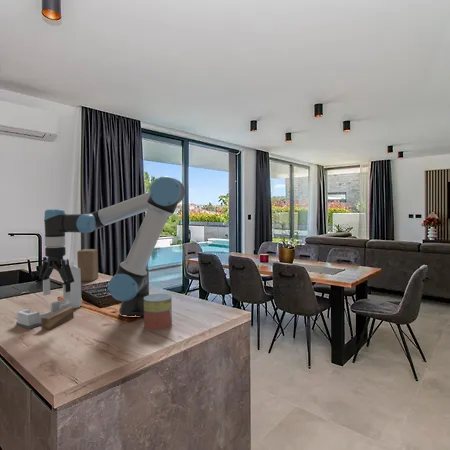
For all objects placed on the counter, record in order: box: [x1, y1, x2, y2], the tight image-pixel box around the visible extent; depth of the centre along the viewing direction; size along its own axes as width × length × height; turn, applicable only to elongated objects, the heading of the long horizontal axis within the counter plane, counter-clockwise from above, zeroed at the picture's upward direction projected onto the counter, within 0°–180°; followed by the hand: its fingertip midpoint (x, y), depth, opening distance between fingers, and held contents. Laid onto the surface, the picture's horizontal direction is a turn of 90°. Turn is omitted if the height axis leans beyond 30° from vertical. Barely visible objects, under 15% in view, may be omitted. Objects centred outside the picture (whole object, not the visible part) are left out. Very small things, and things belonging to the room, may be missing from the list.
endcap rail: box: [15, 300, 71, 330], centre depth 144 cm, size 10×19×6 cm, turn 150°
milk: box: [65, 261, 83, 309], centre depth 162 cm, size 6×6×22 cm
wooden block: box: [76, 248, 99, 282], centre depth 220 cm, size 10×10×20 cm
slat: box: [41, 307, 75, 331], centre depth 139 cm, size 4×15×5 cm, turn 168°
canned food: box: [143, 293, 173, 332], centre depth 135 cm, size 11×11×12 cm
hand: (56, 297), depth 139 cm, fingers open, 13 cm apart
